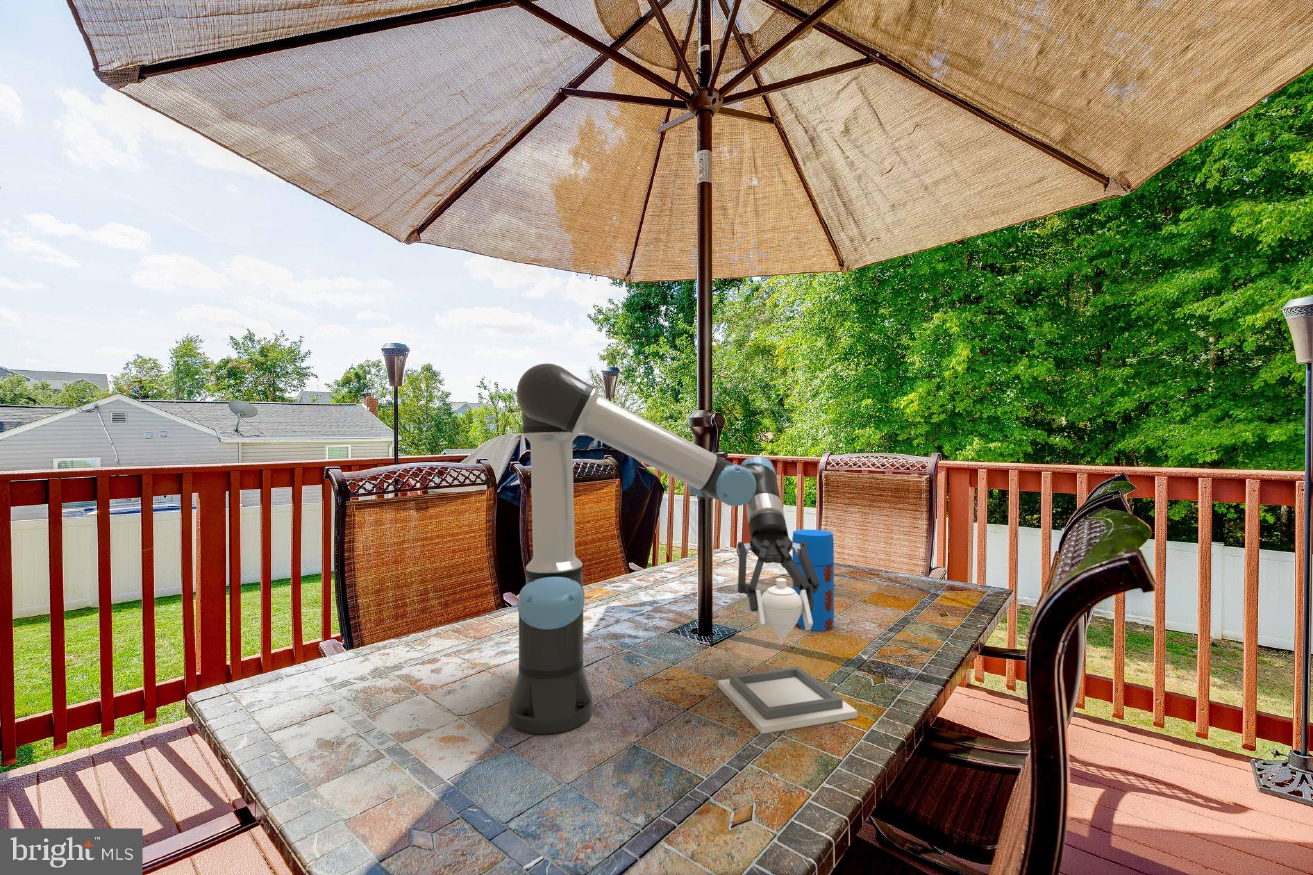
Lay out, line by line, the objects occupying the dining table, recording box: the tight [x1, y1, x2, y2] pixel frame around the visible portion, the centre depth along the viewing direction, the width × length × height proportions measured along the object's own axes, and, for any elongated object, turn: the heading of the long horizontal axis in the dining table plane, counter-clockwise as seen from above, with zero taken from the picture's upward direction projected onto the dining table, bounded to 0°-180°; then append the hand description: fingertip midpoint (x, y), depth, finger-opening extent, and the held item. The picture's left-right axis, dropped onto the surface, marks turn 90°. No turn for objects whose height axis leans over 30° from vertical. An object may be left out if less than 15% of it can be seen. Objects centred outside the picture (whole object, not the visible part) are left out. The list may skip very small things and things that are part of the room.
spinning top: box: [761, 577, 803, 645], centre depth 101 cm, size 8×8×12 cm
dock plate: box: [717, 666, 858, 735], centre depth 105 cm, size 19×19×3 cm
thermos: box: [791, 529, 835, 633], centre depth 149 cm, size 11×11×25 cm
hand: (785, 626), depth 97 cm, fingers closed on spinning top, 8 cm apart
